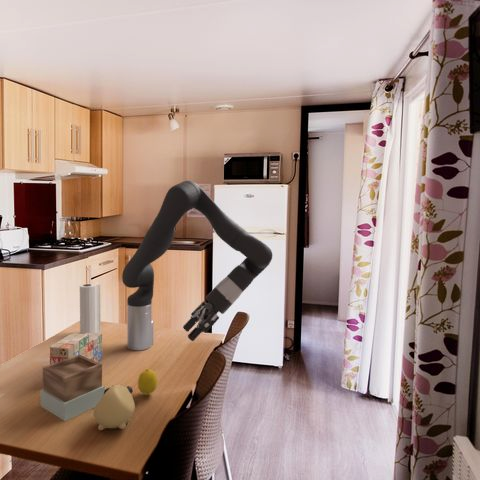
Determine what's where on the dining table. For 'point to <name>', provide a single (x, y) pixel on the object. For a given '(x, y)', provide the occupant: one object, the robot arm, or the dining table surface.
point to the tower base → (71, 403)
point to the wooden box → (72, 377)
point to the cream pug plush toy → (115, 407)
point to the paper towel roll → (90, 309)
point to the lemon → (147, 381)
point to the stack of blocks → (77, 347)
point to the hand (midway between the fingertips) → (187, 334)
